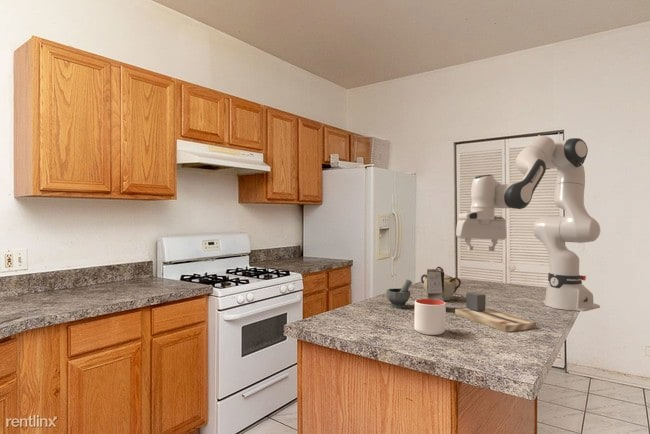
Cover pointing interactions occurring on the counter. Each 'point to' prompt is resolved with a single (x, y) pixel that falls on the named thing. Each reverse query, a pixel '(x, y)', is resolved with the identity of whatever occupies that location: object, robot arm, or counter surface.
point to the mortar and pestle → (399, 295)
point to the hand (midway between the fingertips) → (480, 250)
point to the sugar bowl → (445, 285)
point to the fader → (475, 301)
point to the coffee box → (435, 284)
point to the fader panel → (496, 319)
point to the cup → (430, 316)
